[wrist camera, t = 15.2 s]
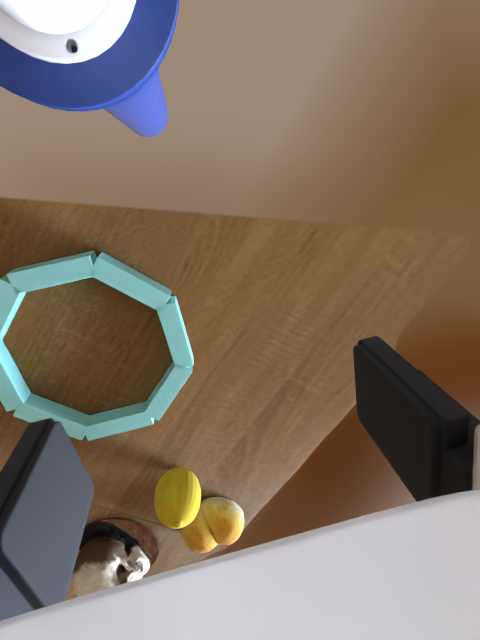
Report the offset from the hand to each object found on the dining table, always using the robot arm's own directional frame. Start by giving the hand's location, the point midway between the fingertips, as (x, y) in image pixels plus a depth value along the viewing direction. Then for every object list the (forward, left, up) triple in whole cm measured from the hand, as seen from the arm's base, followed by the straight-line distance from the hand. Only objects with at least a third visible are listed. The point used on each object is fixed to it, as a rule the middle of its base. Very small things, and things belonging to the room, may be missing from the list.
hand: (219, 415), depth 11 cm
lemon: (+28, -9, -26) cm, 40 cm away
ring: (+8, -13, -26) cm, 31 cm away
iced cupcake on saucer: (+39, -21, -26) cm, 52 cm away
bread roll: (+38, -7, -26) cm, 47 cm away
